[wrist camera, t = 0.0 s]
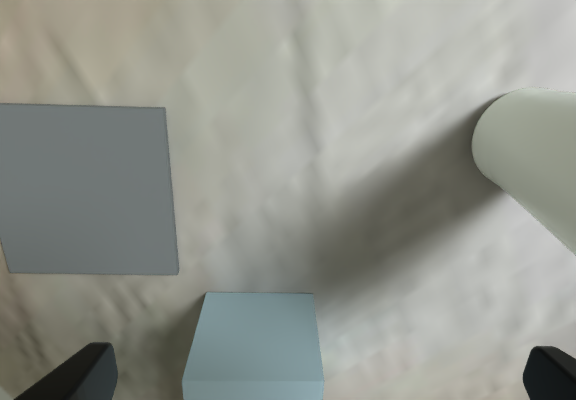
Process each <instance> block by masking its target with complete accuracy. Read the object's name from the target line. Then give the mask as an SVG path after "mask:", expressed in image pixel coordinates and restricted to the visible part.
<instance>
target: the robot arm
mask: <svg viewBox="0 0 576 400" xmlns="http://www.w3.org/2000/svg"><path fill="white" fill-rule="evenodd" d="M117 377H118V372H117V366H116V360H115V354H114V349H113V346H112V344H111V343H108V342H93V343H90V344H88V345H86V346H85V347H84V348H82V349H81V350H80V351H78V352H77V353H76V354H74V355H73V356H72V357H70V358H69V359H68V360H66V361H65V362H64V363H62V364H61V365H59V366H58V367H57V368H55V369H54V370H53V371H51V372H50V373H49V374H47V375H46V376H45V377H43V378H42V379H41V380H39V381H38V382H37V383H35V384H34V385H33V386H31V387H30V388H28V389H27V390H26V391H24V392H23V393H22V394H20V395H19V396H18V397H16V398H15V399H14V400H112V397H113V393H114V390H115V387H116V383H117ZM523 383H524V386H525V389H526V391H527V393H528V396H529V398H530V400H576V359H575V358H573V357H572V356H570V355H568V354H566V353H565V352H563V351H561V350H560V349H558V348H556V347H553V346H536V347H534V348H533V349H532V350H531V352H530V355H529V358H528V361H527V363H526V366H525V369H524V372H523Z"/></svg>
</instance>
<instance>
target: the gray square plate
mask: <svg viewBox="0 0 576 400" xmlns="http://www.w3.org/2000/svg"><path fill="white" fill-rule="evenodd" d="M0 239H1V243H2V247H3V250H4V254H5V257H6V261H7V264H8V268H9V271H10V273H65V274H137V275H178V273H179V261H178V249H177V238H176V227H175V215H174V204H173V192H172V181H171V169H170V158H169V147H168V135H167V124H166V112H165V108H160V107H124V106H87V105H50V104H13V103H0Z"/></svg>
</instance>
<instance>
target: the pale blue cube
mask: <svg viewBox="0 0 576 400" xmlns="http://www.w3.org/2000/svg"><path fill="white" fill-rule="evenodd" d="M182 388H183V399H184V400H323V391H324V375H323V368H322V360H321V352H320V345H319V337H318V330H317V322H316V314H315V307H314V299H313V294H303V293H224V292H206V296H205V299H204V303H203V307H202V310H201V314H200V317H199V321H198V324H197V328H196V332H195V335H194V339H193V342H192V346H191V349H190V353H189V357H188V360H187V364H186V367H185V371H184V374H183V378H182Z"/></svg>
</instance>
